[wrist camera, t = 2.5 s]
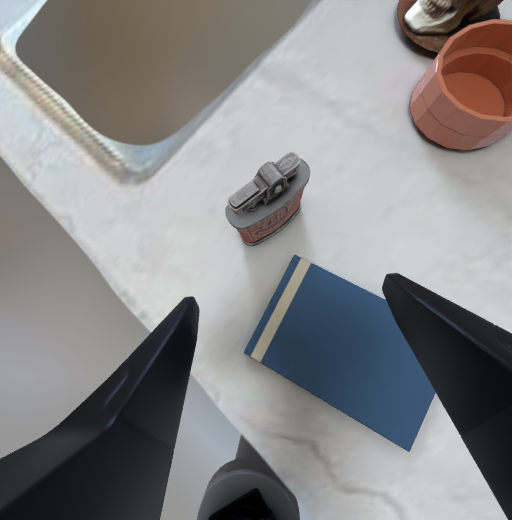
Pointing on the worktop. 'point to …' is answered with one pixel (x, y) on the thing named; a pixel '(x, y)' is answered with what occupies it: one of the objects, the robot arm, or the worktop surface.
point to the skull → (442, 19)
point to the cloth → (343, 351)
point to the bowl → (468, 88)
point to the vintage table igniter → (269, 199)
